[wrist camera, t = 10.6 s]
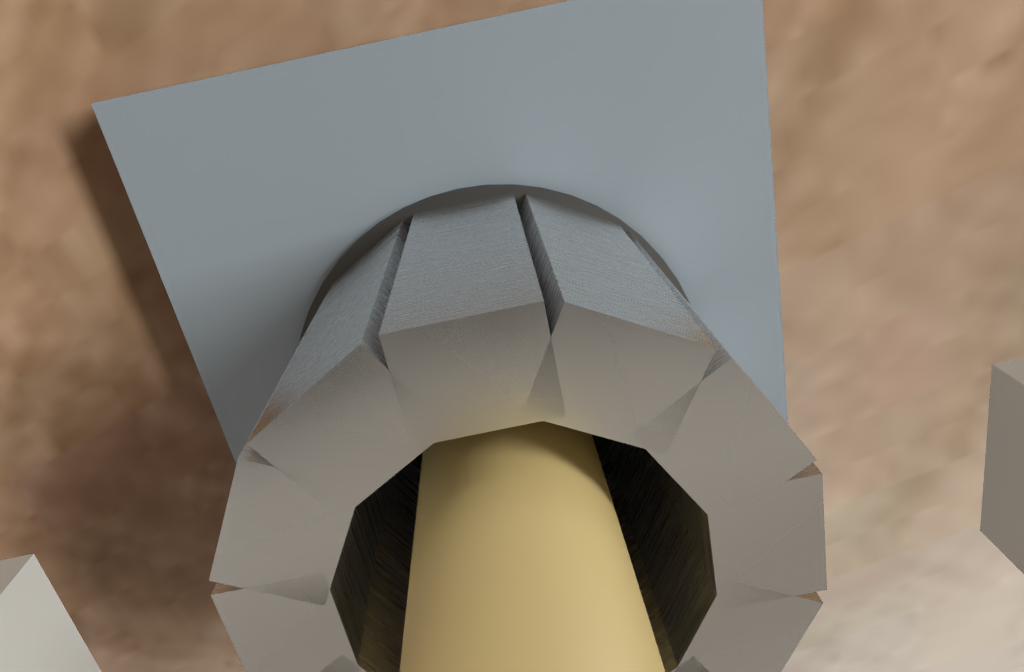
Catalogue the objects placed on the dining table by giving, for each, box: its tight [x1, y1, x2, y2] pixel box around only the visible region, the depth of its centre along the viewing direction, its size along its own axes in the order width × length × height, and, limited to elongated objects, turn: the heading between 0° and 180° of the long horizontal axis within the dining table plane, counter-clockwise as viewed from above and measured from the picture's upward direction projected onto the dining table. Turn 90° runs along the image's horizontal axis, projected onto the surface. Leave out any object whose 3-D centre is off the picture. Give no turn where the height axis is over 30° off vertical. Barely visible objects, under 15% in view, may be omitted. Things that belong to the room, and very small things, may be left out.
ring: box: [209, 193, 827, 672], centre depth 13 cm, size 8×8×6 cm
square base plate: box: [91, 0, 788, 672], centre depth 12 cm, size 14×12×10 cm
